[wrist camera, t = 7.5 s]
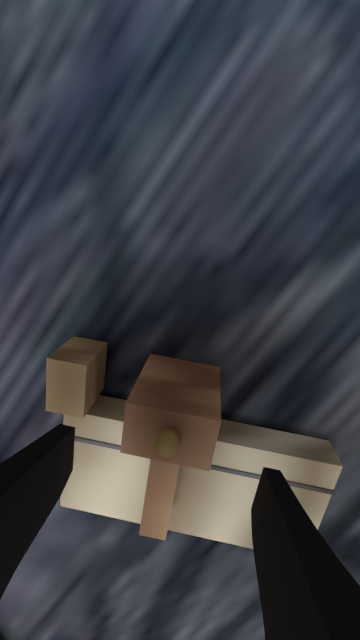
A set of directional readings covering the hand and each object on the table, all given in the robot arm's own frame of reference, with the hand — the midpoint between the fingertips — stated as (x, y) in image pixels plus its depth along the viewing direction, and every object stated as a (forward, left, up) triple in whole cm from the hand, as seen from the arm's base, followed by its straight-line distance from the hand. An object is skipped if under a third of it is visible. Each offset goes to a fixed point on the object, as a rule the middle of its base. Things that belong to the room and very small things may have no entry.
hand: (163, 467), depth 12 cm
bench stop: (+6, 0, -7) cm, 9 cm away
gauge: (0, +3, -7) cm, 7 cm away
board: (-1, +5, -7) cm, 9 cm away
